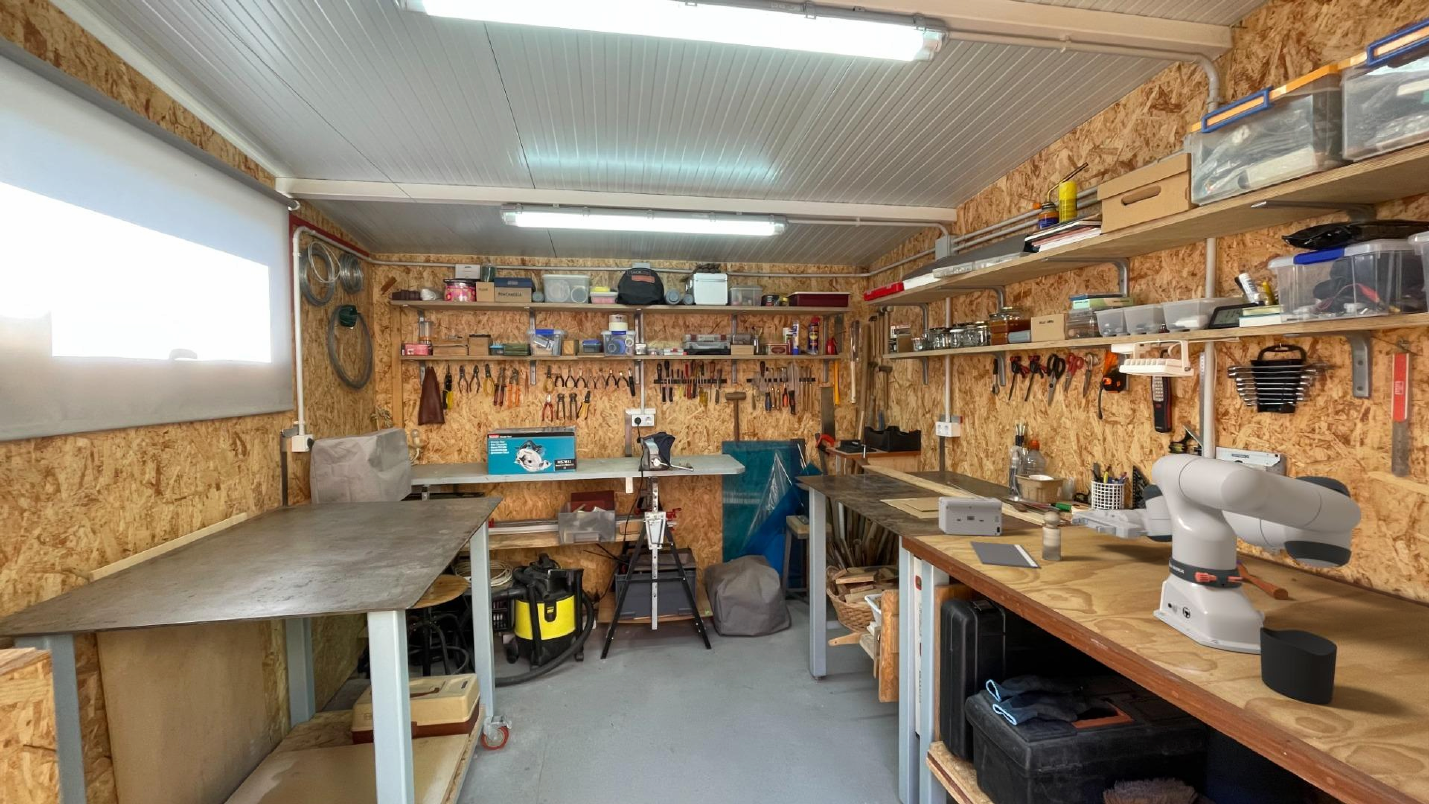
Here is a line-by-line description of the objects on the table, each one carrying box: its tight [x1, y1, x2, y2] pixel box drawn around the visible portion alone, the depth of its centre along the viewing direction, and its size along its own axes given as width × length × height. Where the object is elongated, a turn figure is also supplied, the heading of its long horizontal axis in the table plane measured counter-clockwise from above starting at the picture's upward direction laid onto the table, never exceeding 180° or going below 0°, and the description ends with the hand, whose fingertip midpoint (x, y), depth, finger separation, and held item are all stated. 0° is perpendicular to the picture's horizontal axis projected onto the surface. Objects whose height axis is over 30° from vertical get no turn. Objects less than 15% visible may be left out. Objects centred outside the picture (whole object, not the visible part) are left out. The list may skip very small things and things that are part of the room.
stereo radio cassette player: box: [938, 481, 1003, 537], centre depth 196 cm, size 21×8×20 cm, turn 82°
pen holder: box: [1260, 626, 1338, 705], centre depth 96 cm, size 9×9×10 cm
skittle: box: [1041, 511, 1062, 562], centre depth 167 cm, size 5×5×15 cm
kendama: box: [1236, 558, 1289, 601], centre depth 144 cm, size 6×6×20 cm
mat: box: [970, 541, 1041, 569], centre depth 172 cm, size 22×16×1 cm
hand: (1084, 525), depth 169 cm, fingers open, 8 cm apart
